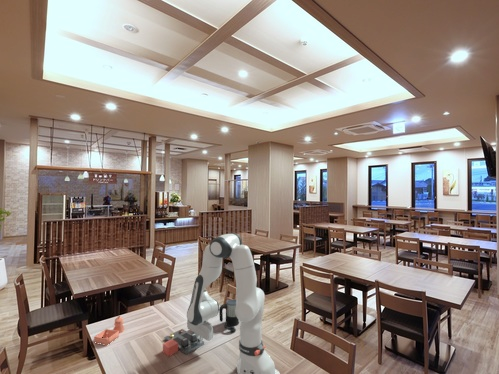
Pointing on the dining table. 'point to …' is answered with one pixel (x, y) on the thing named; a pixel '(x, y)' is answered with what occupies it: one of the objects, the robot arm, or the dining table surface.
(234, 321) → the milk frother
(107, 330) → the pottery
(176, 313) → the dining table surface
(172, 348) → the lockout cap
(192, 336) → the breaker
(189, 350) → the panel
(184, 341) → the block
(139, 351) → the dining table surface
